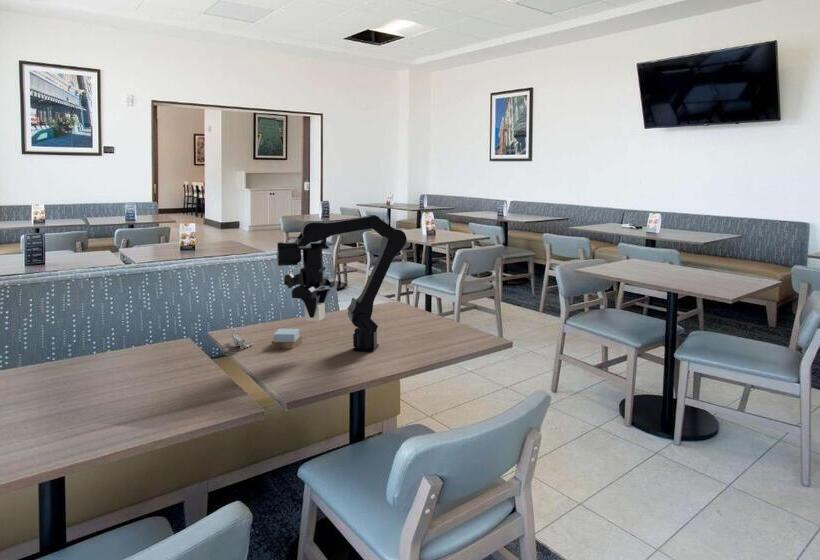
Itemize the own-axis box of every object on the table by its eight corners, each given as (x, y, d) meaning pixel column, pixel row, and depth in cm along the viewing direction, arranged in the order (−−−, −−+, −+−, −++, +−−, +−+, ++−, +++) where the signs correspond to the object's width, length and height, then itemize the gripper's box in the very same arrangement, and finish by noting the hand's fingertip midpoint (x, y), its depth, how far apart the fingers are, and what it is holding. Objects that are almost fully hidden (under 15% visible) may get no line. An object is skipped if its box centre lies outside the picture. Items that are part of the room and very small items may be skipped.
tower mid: (299, 336, 188) (299, 328, 187) (294, 342, 182) (294, 334, 181) (279, 336, 188) (279, 328, 188) (274, 342, 182) (273, 334, 181)
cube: (325, 317, 176) (324, 302, 175) (319, 321, 172) (318, 306, 171) (311, 316, 177) (310, 302, 176) (305, 320, 173) (304, 305, 172)
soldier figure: (250, 343, 191) (258, 341, 180) (241, 355, 189) (249, 353, 178) (231, 328, 189) (238, 325, 178) (221, 340, 187) (228, 338, 176)
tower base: (301, 344, 188) (301, 336, 187) (292, 350, 181) (291, 343, 181) (282, 342, 190) (281, 335, 189) (271, 349, 183) (271, 341, 182)
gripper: (301, 258, 182) (303, 306, 185) (273, 268, 164) (276, 321, 167) (334, 259, 179) (336, 308, 182) (309, 270, 161) (311, 324, 164)
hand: (315, 315), depth 174 cm, fingers closed on cube, 4 cm apart
